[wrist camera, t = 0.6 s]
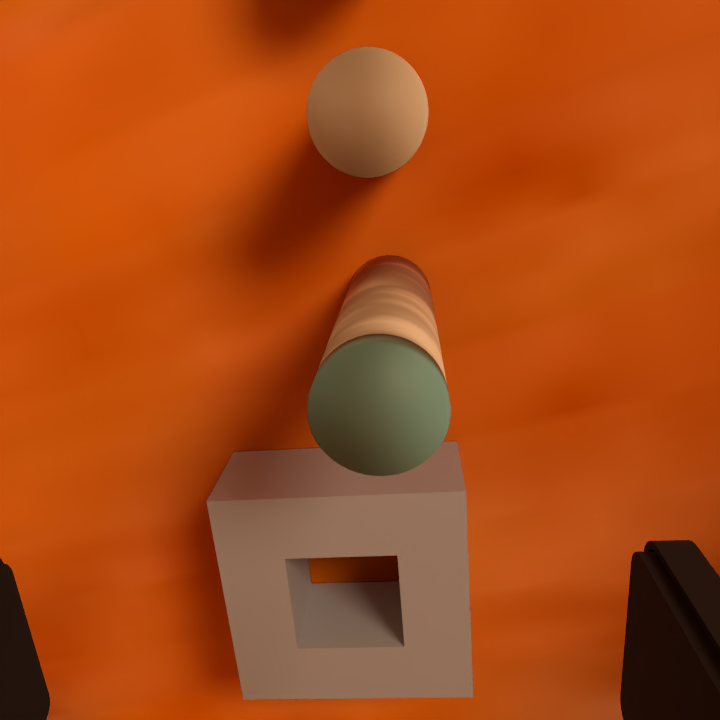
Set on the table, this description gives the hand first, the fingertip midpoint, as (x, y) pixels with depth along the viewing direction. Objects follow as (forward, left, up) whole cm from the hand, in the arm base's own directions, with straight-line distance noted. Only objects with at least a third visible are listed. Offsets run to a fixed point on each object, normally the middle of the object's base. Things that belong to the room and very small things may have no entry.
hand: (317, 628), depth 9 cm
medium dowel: (-1, -8, -22) cm, 24 cm away
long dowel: (-1, 0, -22) cm, 23 cm away
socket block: (+2, +14, -22) cm, 27 cm away
